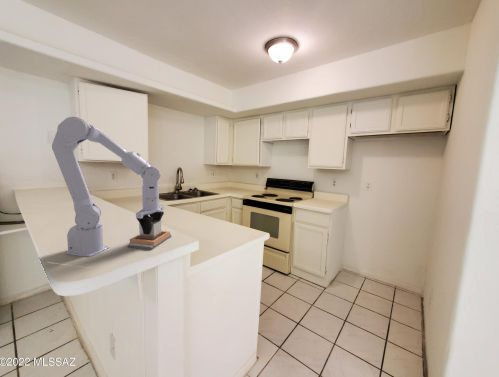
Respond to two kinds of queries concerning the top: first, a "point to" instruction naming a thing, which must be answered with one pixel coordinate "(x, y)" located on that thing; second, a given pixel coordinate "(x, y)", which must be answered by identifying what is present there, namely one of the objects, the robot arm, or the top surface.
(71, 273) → the top surface
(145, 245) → the frame
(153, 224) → the brushed metal cube
